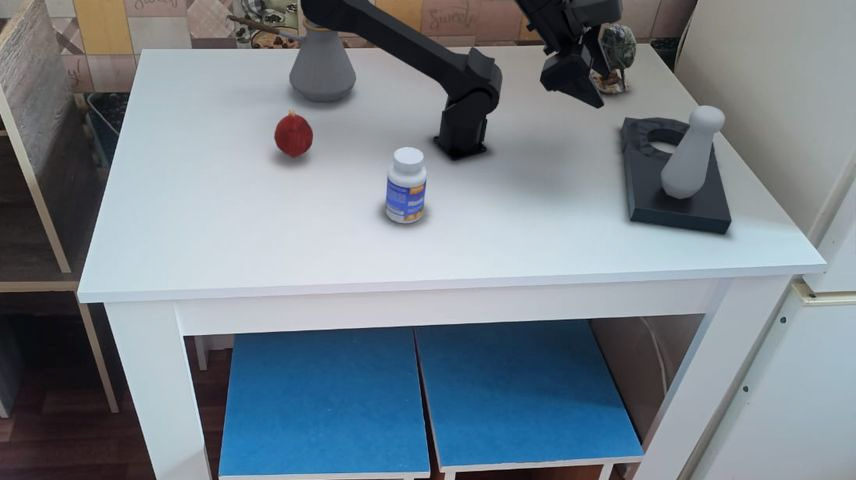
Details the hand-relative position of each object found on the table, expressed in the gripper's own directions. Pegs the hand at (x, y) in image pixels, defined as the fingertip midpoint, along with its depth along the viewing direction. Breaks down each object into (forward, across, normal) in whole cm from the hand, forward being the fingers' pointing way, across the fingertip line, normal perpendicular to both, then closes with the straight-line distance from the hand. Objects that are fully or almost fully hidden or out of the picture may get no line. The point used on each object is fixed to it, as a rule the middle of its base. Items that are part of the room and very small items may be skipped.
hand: (604, 90), depth 103 cm
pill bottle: (-6, -20, +26) cm, 33 cm away
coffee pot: (-25, +4, +45) cm, 52 cm away
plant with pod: (+10, +28, +9) cm, 31 cm away
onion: (-20, -13, +40) cm, 46 cm away
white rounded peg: (+18, -4, -2) cm, 18 cm away
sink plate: (+19, +3, 0) cm, 19 cm away
